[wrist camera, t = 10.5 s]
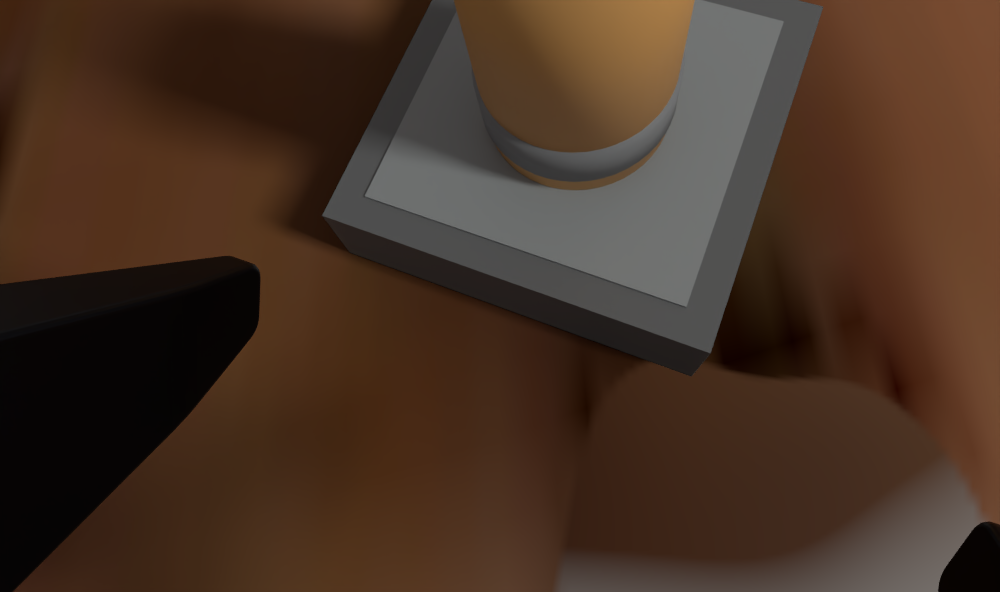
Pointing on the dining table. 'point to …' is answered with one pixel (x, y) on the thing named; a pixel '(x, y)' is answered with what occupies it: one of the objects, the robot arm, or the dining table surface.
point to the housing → (576, 82)
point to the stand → (582, 213)
